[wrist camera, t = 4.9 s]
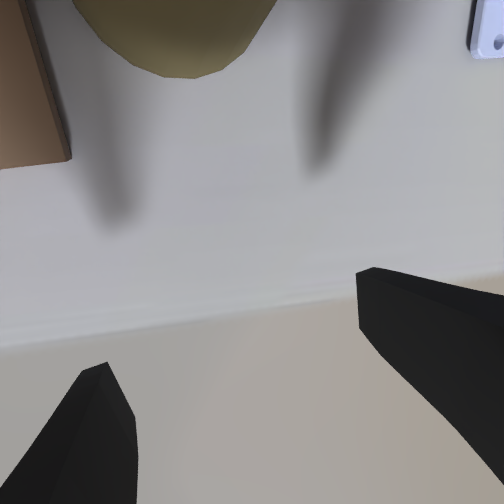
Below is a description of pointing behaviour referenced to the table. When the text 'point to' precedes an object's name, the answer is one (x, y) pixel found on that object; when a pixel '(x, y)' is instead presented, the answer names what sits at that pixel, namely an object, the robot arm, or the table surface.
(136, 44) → the cork
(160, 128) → the table surface
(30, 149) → the light brown board
